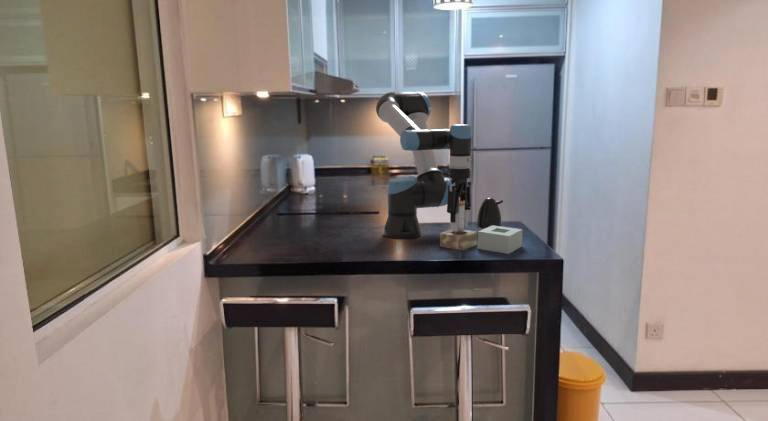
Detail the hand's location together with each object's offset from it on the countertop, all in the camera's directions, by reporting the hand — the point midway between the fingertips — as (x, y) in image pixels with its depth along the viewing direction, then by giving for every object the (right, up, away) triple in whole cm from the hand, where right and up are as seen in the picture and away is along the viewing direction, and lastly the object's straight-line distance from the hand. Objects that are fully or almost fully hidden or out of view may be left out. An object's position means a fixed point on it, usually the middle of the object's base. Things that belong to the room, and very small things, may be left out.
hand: (458, 228), depth 193 cm
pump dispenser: (+15, -3, +17) cm, 23 cm away
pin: (0, -6, +1) cm, 7 cm away
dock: (+15, -7, -2) cm, 17 cm away
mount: (0, -6, +1) cm, 7 cm away
